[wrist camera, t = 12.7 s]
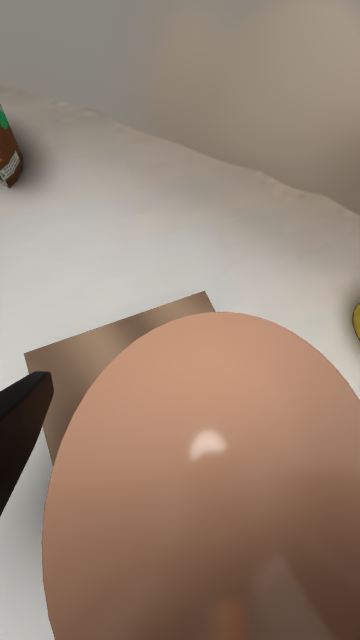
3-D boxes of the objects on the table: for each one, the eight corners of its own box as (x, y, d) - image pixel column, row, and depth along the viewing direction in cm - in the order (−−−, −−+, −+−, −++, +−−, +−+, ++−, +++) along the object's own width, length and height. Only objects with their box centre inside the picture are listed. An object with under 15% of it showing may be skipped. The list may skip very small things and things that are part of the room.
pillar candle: (138, 469, 13) (137, 1013, 2) (110, 389, 14) (-3, 385, 3) (209, 428, 14) (460, 564, 3) (179, 359, 15) (284, 278, 4)
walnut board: (94, 579, 12) (88, 604, 11) (34, 356, 15) (23, 353, 14) (277, 452, 16) (290, 458, 15) (200, 298, 19) (204, 290, 18)
